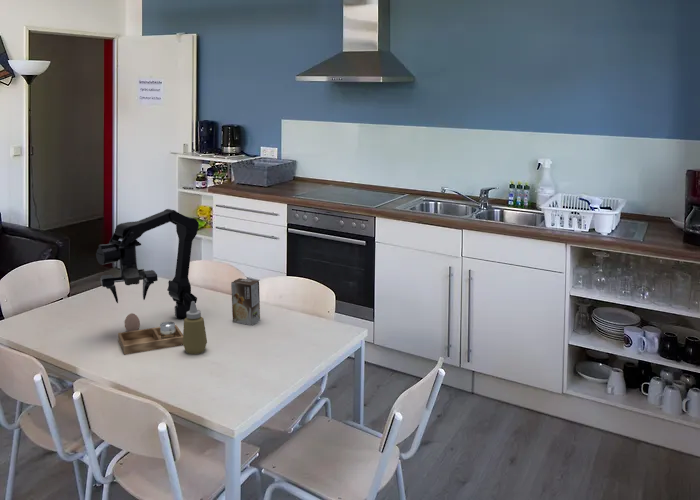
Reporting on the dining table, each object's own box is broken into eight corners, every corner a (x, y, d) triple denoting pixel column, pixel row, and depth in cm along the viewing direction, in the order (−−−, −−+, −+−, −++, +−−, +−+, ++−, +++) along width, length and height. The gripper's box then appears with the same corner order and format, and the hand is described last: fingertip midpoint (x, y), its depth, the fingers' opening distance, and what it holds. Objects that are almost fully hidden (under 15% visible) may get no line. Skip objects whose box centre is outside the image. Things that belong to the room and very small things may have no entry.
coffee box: (261, 320, 252) (260, 280, 248) (252, 326, 246) (251, 285, 242) (240, 317, 255) (239, 277, 251) (231, 322, 249) (230, 282, 245)
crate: (176, 333, 237) (175, 324, 236) (184, 346, 226) (184, 336, 225) (118, 342, 228) (118, 333, 227) (124, 356, 217) (123, 346, 216)
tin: (174, 336, 233) (173, 320, 231) (177, 341, 228) (176, 325, 227) (159, 338, 231) (158, 322, 229) (162, 343, 226) (161, 327, 225)
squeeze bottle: (185, 347, 225) (182, 298, 220) (209, 347, 225) (207, 297, 221) (181, 357, 217) (178, 305, 213) (205, 356, 218) (203, 305, 213)
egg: (127, 336, 234) (126, 317, 232) (123, 331, 238) (121, 312, 236) (142, 333, 237) (141, 314, 235) (137, 329, 241) (136, 310, 239)
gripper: (102, 267, 219) (106, 311, 223) (159, 262, 228) (161, 304, 232) (98, 259, 229) (102, 302, 233) (153, 254, 237) (155, 295, 241)
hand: (130, 301), depth 234 cm, fingers open, 9 cm apart
